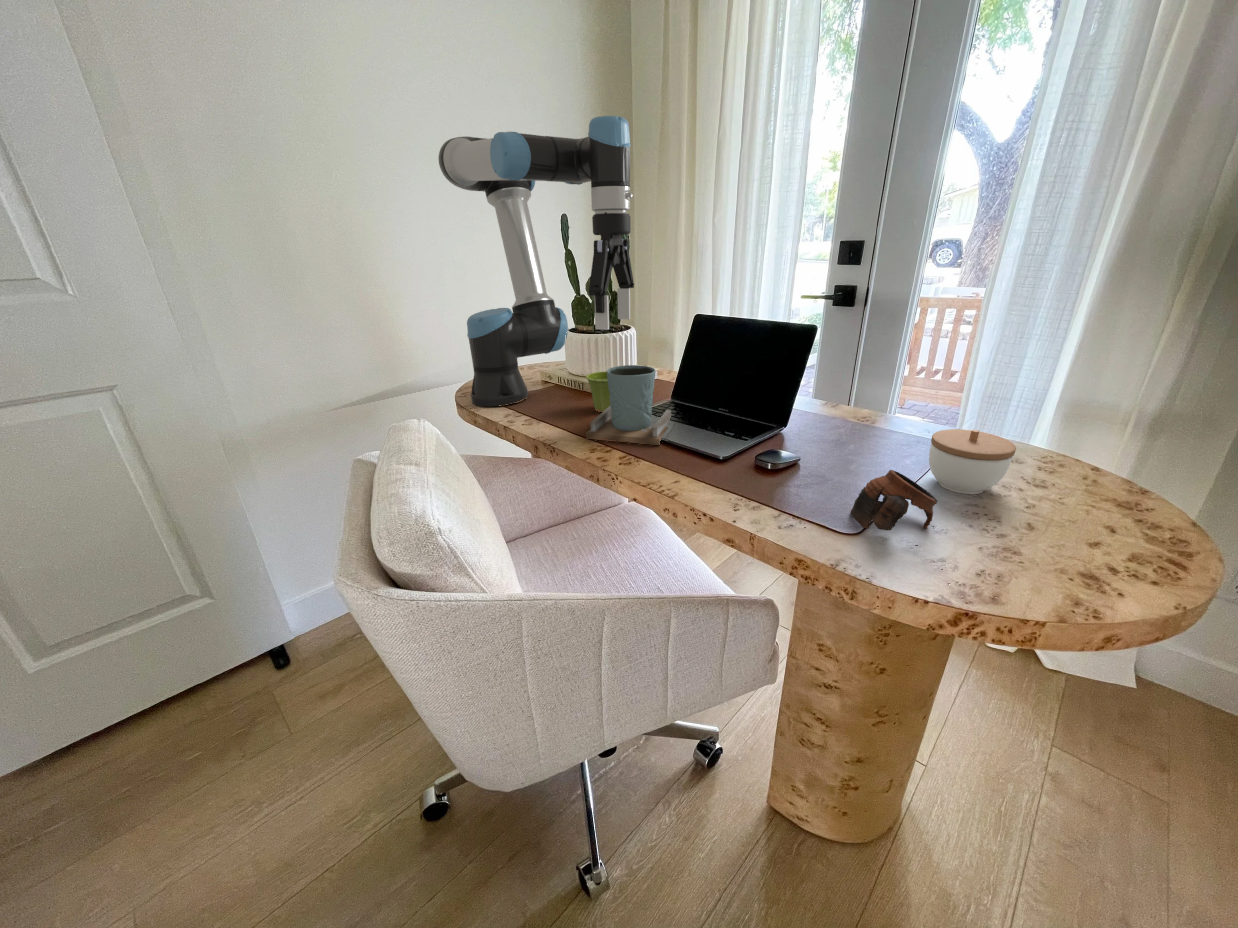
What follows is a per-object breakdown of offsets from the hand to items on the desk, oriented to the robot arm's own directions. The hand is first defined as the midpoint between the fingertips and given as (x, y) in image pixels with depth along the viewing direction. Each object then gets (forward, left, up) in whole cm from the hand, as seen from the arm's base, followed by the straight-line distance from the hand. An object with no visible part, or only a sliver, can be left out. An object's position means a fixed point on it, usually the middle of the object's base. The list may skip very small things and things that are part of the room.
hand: (613, 324), depth 105 cm
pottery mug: (+52, -34, -22) cm, 66 cm away
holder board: (+5, -6, -22) cm, 23 cm away
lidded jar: (+64, -18, -22) cm, 70 cm away
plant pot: (-5, +8, -22) cm, 24 cm away
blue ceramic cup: (+5, -5, -21) cm, 22 cm away
